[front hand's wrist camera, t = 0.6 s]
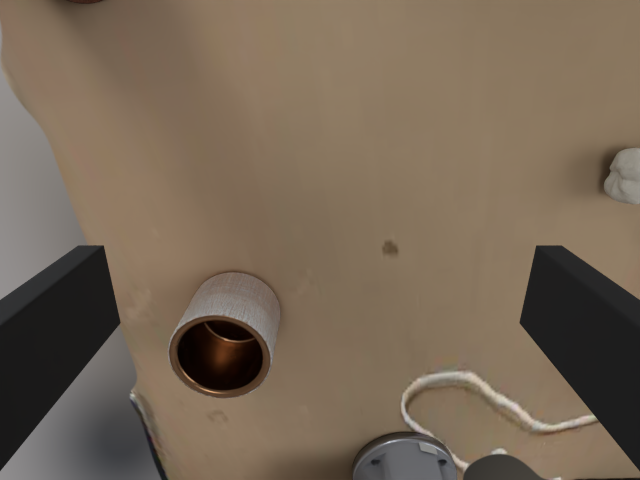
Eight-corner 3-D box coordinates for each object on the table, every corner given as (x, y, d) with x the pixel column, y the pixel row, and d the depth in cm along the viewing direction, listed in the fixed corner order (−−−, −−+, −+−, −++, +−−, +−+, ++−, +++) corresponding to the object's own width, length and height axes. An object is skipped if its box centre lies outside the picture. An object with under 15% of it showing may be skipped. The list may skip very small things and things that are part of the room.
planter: (177, 288, 49) (145, 334, 40) (257, 256, 48) (243, 298, 39) (219, 355, 53) (199, 411, 44) (295, 328, 51) (289, 381, 42)
